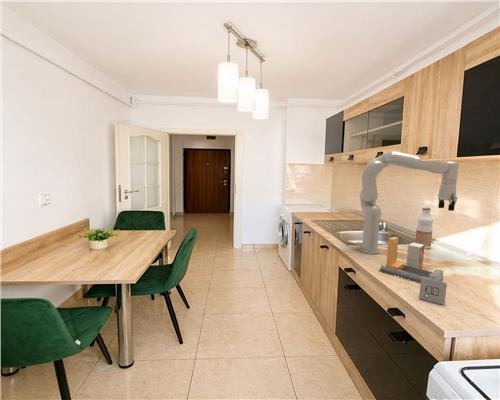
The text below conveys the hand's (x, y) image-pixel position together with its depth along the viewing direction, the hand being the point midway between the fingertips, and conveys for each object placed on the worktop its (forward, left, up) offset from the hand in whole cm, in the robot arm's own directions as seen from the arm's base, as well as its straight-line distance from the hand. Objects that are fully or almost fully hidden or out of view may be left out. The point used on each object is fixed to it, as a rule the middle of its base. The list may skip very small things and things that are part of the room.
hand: (445, 209), depth 176 cm
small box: (-4, -34, -31) cm, 46 cm away
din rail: (-1, -49, -30) cm, 58 cm away
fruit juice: (-14, +12, -30) cm, 36 cm away
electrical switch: (+15, -71, -31) cm, 79 cm away
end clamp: (-9, -49, -29) cm, 58 cm away
